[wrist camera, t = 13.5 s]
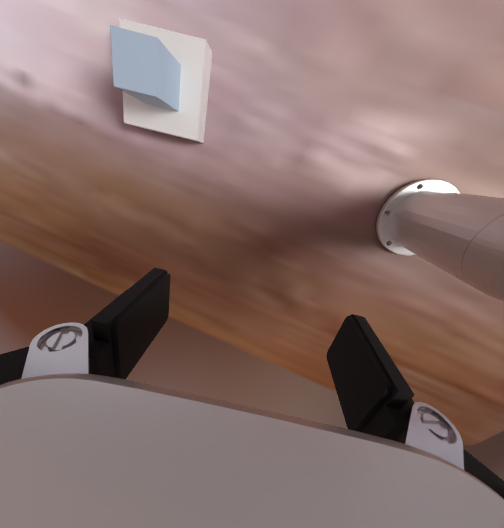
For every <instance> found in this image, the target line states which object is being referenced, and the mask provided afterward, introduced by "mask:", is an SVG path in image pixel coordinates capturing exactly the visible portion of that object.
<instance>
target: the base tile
mask: <svg viewBox="0 0 504 528" xmlns="http://www.w3.org/2000/svg"><path fill="white" fill-rule="evenodd" d="M119 26H120V28H123V29H127V30H131V31H135V32H138V33H142V34H146V35H150V36H154V37H158V38H159V40H160V41H161V42H162V43H163V44H164V46H165V47H166V48H167V49H168V50H169V52H170V53H171V54H172V55H173V56H174V57H175V59H176V60H177V61H178V62H179V63H180V65H181V76H180V95H179V111H175V110H171V109H167V108H163V107H159V106H155V105H151V104H147V103H144V102H142V101H140V100H138V99H136V98H134V97H133V96H131V95H129V94H127V93H125V92H123V112H124V123H126V124H129V125H132V126H135V127H139V128H143V129H147V130H151V131H155V132H159V133H164V134H168V135H172V136H176V137H180V138H184V139H188V140H192V141H196V142H200V143H203V142H204V132H205V122H206V112H207V101H208V91H209V81H210V71H211V61H212V51H211V49H210V47H209V45H208V43H207V41H206V40H205V39H201V38H197V37H193V36H189V35H185V34H181V33H177V32H173V31H169V30H165V29H161V28H157V27H153V26H149V25H145V24H141V23H138V22H134V21H130V20H126V19H122V18H119Z"/></svg>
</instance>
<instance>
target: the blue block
mask: <svg viewBox="0 0 504 528" xmlns="http://www.w3.org/2000/svg"><path fill="white" fill-rule="evenodd" d="M110 33H111V50H112V66H113V83H114V87H116V88H118V89H120V90H122V91H123V92H125V93H127V94H129V95H131V96H133V97H134V98H136V99H138V100H140V101H142V102H144V103H147V104H151V105H155V106H159V107H163V108H167V109H171V110H175V111H179V95H180V76H181V65H180V63H179V62H178V61H177V60H176V59H175V57H174V56H173V55H172V54H171V53H170V52H169V50H168V49H167V48H166V47H165V46H164V44H163V43H162V42H161V41H160V40H159V38H158V37H154V36H150V35H146V34H142V33H138V32H135V31H131V30H127V29H123V28H119V27H115V26H111V25H110Z"/></svg>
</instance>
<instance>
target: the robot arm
mask: <svg viewBox="0 0 504 528" xmlns="http://www.w3.org/2000/svg"><path fill="white" fill-rule="evenodd" d="M385 211H386V213H385ZM376 232H377V236H378V239H379V240H380V242H381V244H382V245H383V246H384V247H385V248H387V249H388V250H390V251H392V252H394V253H396V254H400V255H418V256H419V257H421V258H423V259H425V260H426V261H428V262H430V263H432V264H434V265H435V266H437V267H439V268H441V269H442V270H444V271H446V272H448V273H449V274H451V275H453V276H455V277H456V278H458V279H460V280H462V281H463V282H465V283H467V284H469V285H470V286H472V287H474V288H476V289H478V290H480V291H481V292H483V293H485V294H487V295H489V296H491V297H494V298H497V299H499V300H503V301H504V198H495V197H486V196H478V195H469V194H460V192H459V191H458V190H457V189H456V187H455V186H453V185H452V184H450V183H448V182H446V181H443V180H436V179H425V180H418V181H415V182H412V183H410V184H408V185H406V186H404V187H402V188H400V189H399V190H398V191H396V192H395V193H394V194H393V195H392V196H391V197H390V198H389V199H388V200H387V201H386V202H385V204H384V205H383V207H382V209H381V210H380V212H379V215H378V218H377V223H376ZM169 293H170V274H167V271H166V270H162V269H158V268H154V269H152V270H151V271H150V272H149V273H148V274H146V275H145V276H144V277H143V278H141V279H140V280H139V281H138V282H137V283H135V284H134V285H133V286H132V287H131V288H129V289H128V290H126V291H125V292H124V293H122V294H121V295H120V296H119V297H117V298H116V299H115V300H114V301H113V302H111V303H110V304H109V305H108V306H106V307H105V308H104V309H103V310H101V312H99V313H98V314H97V315H95V316H94V317H93V318H92V319H90V320H89V321H88V322H87V323H86V324H84V325H82V324H79V323H64V324H60V325H56V326H53V327H51V328H48V329H46V330H45V331H43V332H41V333H40V334H38V335H37V336H36V337H35V338H34V339H33V340H32V342H31V344H30V347H26V348H23V349H19V350H15V351H11V352H8V353H4V354H1V355H0V528H504V481H503V480H502V479H500V478H499V477H498V476H497V475H495V474H494V473H493V472H492V471H490V470H489V469H488V468H487V467H486V466H484V465H483V464H482V463H481V462H479V461H478V460H477V459H476V458H474V457H473V456H472V455H471V454H469V453H468V452H467V451H465V450H464V449H463V442H462V439H461V436H460V434H459V432H458V431H457V429H456V428H455V427H454V425H453V424H452V423H451V422H450V421H449V420H448V419H447V418H446V417H445V416H444V415H443V414H442V413H441V412H439V411H438V410H437V409H435V408H434V407H432V406H430V405H428V404H426V403H422V402H416V403H414V402H413V400H412V397H413V396H414V393H413V392H412V390H411V389H410V387H409V386H408V384H407V382H406V381H405V379H404V378H403V376H402V375H401V373H400V372H399V370H398V368H397V367H396V365H395V364H394V362H393V361H392V359H391V358H390V356H389V354H388V353H387V351H386V350H385V348H384V347H383V345H382V344H381V342H380V341H379V339H378V337H377V336H376V334H375V333H374V331H373V330H372V328H371V327H370V325H369V323H368V322H367V320H366V319H365V318H364V317H362V316H358V315H353V314H352V315H350V316H347V317H346V318H345V320H344V322H343V324H342V326H341V328H340V330H339V331H338V333H337V335H336V337H335V339H334V341H333V343H332V344H331V346H330V348H329V350H328V352H327V361H328V364H329V368H330V371H331V374H332V378H333V381H334V384H335V388H336V391H337V394H338V397H339V401H340V404H341V407H342V411H343V414H344V417H345V421H346V424H347V427H348V429H345V428H340V427H336V426H332V425H328V424H323V423H319V422H315V421H310V420H306V419H302V418H297V417H293V416H289V415H284V414H280V413H275V412H271V411H267V410H262V409H258V408H254V407H249V406H245V405H240V404H236V403H232V402H227V401H223V400H218V399H214V398H209V397H205V396H200V395H196V394H191V393H187V392H182V391H177V390H173V389H169V388H164V387H160V386H155V385H150V384H145V383H140V382H134V381H130V380H125V379H126V378H127V377H128V375H129V374H130V372H131V371H132V369H133V368H134V367H135V365H136V364H137V362H138V361H139V359H140V358H141V357H142V355H143V354H144V352H145V351H146V349H147V348H148V346H149V345H150V344H151V342H152V341H153V339H154V338H155V337H156V335H157V334H158V332H159V331H160V329H161V328H162V327H163V325H164V324H165V322H166V321H167V318H168V313H169Z"/></svg>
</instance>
